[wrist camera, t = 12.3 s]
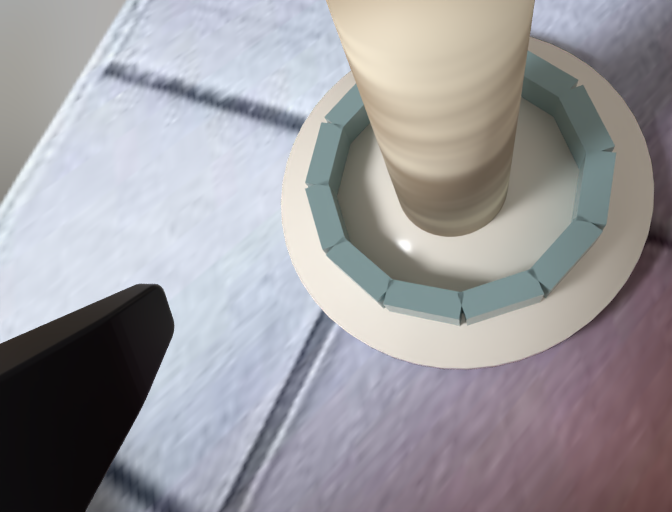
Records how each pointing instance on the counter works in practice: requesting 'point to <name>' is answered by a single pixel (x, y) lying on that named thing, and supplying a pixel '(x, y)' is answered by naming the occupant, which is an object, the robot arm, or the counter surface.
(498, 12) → the birch cylinder
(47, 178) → the counter surface
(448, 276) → the ring dish
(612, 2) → the counter surface
